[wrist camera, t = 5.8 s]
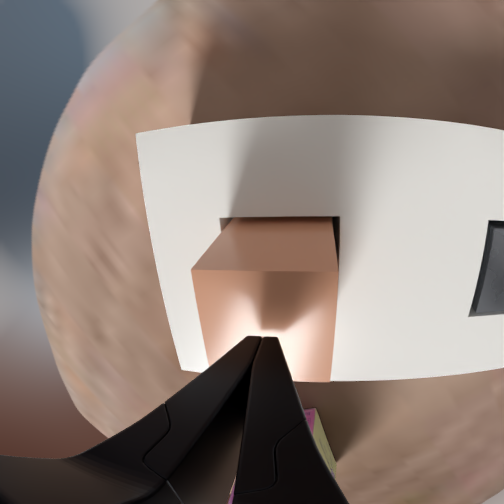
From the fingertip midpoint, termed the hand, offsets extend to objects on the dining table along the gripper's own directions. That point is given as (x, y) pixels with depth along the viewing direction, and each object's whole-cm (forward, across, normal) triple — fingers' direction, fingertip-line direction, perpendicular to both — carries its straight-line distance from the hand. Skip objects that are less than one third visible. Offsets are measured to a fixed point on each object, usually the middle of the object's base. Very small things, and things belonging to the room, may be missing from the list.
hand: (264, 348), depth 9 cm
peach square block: (+6, 0, 0) cm, 6 cm away
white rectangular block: (+11, -5, 0) cm, 12 cm away
